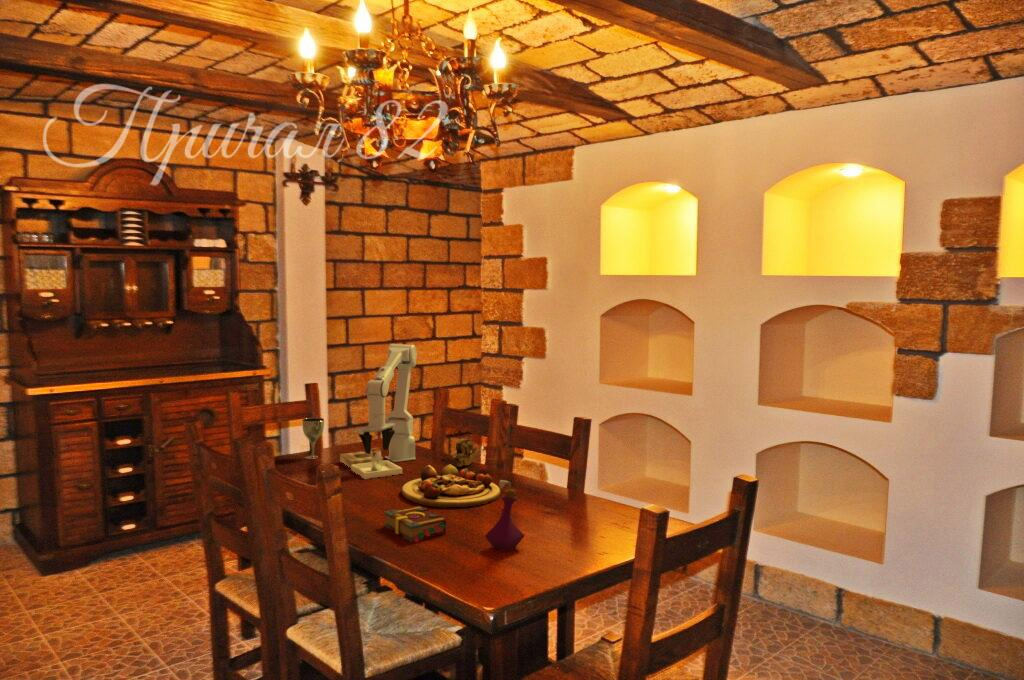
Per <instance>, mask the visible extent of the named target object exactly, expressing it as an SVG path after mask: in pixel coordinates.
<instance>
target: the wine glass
mask: <svg viewBox="0 0 1024 680" xmlns="http://www.w3.org/2000/svg"><path fill="white" fill-rule="evenodd" d="M301 423H302V424H301V425H302V432H303V435H304V436H305V437H306V438H307V440H308V441H309V442H310V444H311V455H308V456H305V457H304V458H307V459H316V458H318V456H319V455H315V446H316V442H317V441H318V440H319V438H320V437H321V436H322V435H323V432H324V427H325V419H324V418H323V417H305V418H302V420H301Z"/></svg>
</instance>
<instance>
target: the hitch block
mask: <svg viewBox="0 0 1024 680" xmlns="http://www.w3.org/2000/svg"><path fill="white" fill-rule="evenodd" d="M381 461H384V457H383V456H381ZM339 462H340V463H341V462H342V463H344V464H345V465H344V464H343V465H344V466H346V465H347V466H348V467H347V466H346V467H347V468H349V467H350V468H351V465H353V464H361V463H369V462H371V452H370V454H368V453H365V450H364V451H357V452H348V453H340V454H339ZM342 463H341V464H342ZM350 468H349V469H350Z"/></svg>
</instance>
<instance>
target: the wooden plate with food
mask: <svg viewBox="0 0 1024 680" xmlns="http://www.w3.org/2000/svg"><path fill="white" fill-rule="evenodd" d="M478 472H479V473H478ZM478 472H477V473H476V470H475V471H474V470H473V471H472V470H471V471H470V470H469V468H467V467H464V468H463V469H461V470H460V471H459V469H457V467H455V465H452V464H447V465H446V466H444V467H443V468H442V469H441V470H440V474H439V475H438V473H437V470H436V469H435V468H434V467H433V466H431V465H430V464H428V465H426V466H424V467H423V468H422V470H421V471H420V477H419V478H416V479H412V480H409V481H407V482H406V483H404V485H402V487H401V494H402V496H403V497H404V498H405V499H407V500H408V501H411V502H412V503H415V504H419V505H422V506H423V505H424V506H429V507H436V508H446V507H454V508H453V509H456V508H455V507H462V508H469V507H468V506H473V507H477V506H476V505H479V506H482V505H481V504H484V505H486V504H485V503H487V504H489V503H488V502H490V501H492V502H494V501H496V500H497V499H498V498H499V497H500V496H501V490H500V488H499V485H497V484H495V483H494V482H492V481H493V478H492V476H491V474H490V473H482V471H480V470H479V471H478ZM499 495H500V496H499ZM495 499H496V500H495ZM493 500H494V501H493ZM490 503H491V502H490Z"/></svg>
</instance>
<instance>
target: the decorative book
mask: <svg viewBox="0 0 1024 680" xmlns="http://www.w3.org/2000/svg"><path fill="white" fill-rule="evenodd" d="M383 513H384V515H385V516H386V522H385V523H384V524H383V526H384V527H385V528H387V529H389V530H392V531H394V533H395V534H396V535H397V534H398V535H399V534H400V535H399V536H401V537H403V539H405V540H407V541H409V542H410V543H412V542H415V543H419V542H420V541H421V540H424V539H426V538H430V537H431V538H432V537H435V536H438V535H439V536H440V535H444V533H445V534H446V531H447V529H446V528H447V525H446V524H447V520H446V519H445V518H444V517H442V514H439V513H433V512H431V511H430V509H429V508H427V507H422V506H420V505H414V506H409V507H404V508H400V509H391V510H390V509H389V510H385V511H384V512H383ZM418 541H419V542H418Z"/></svg>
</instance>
